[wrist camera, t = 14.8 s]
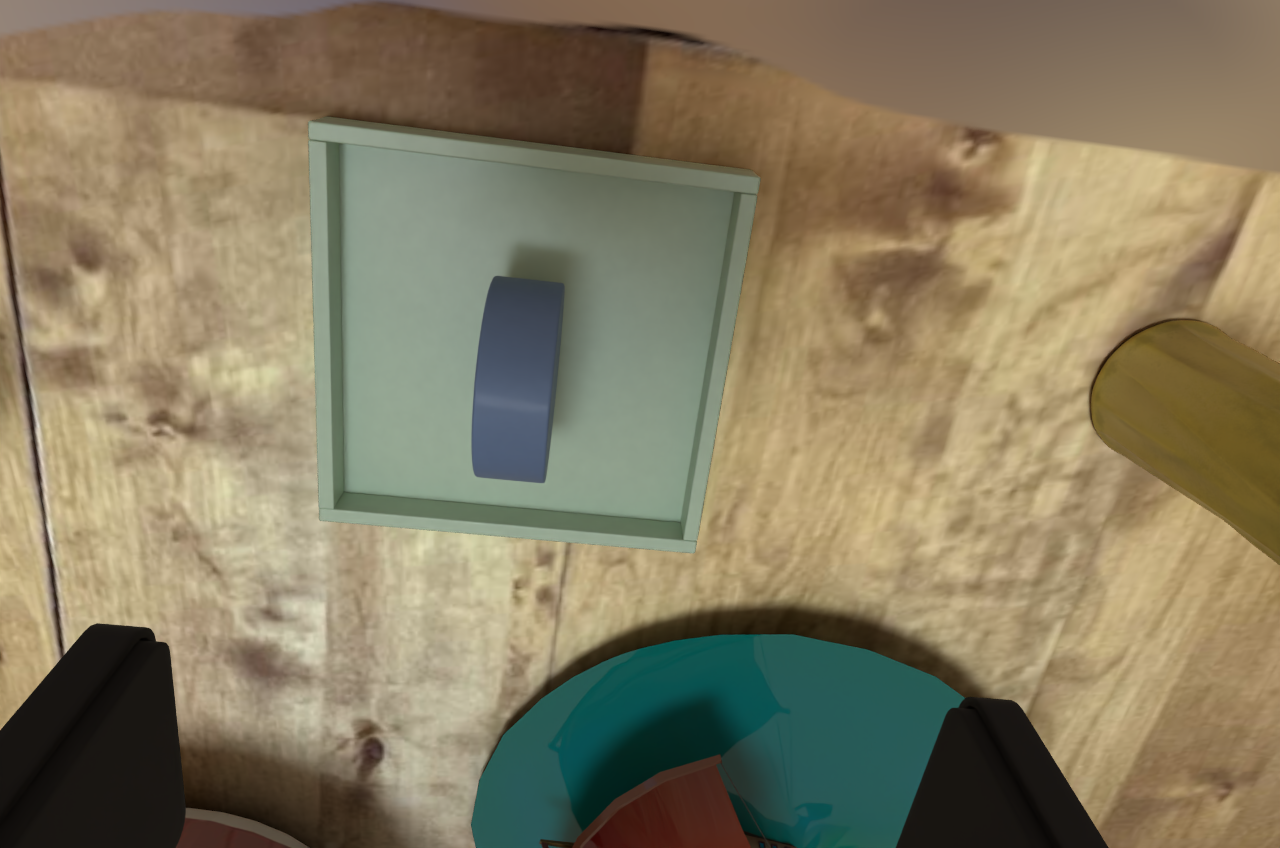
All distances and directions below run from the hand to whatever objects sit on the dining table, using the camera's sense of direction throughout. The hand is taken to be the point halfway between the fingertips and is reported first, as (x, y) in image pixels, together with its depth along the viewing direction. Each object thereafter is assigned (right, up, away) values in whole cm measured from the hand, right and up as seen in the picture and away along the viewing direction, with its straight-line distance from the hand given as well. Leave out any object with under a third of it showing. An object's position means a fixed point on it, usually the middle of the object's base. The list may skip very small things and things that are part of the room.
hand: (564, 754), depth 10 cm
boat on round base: (+6, -17, +34) cm, 39 cm away
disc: (-3, +7, +23) cm, 24 cm away
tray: (-4, +7, +23) cm, 25 cm away
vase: (+22, +5, +25) cm, 34 cm away
